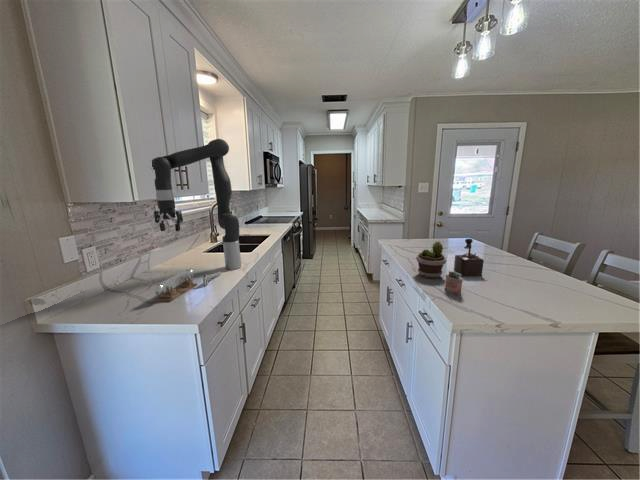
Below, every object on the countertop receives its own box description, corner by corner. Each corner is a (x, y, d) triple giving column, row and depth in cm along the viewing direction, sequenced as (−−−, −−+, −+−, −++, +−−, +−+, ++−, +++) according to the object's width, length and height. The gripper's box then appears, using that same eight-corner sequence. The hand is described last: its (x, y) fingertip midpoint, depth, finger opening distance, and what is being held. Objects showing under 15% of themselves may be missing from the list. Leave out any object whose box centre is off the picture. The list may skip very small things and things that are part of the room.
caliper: (205, 287, 129) (204, 275, 128) (203, 287, 129) (202, 275, 128) (222, 273, 149) (221, 263, 147) (220, 273, 149) (219, 263, 147)
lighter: (442, 289, 119) (444, 269, 117) (447, 288, 121) (449, 268, 119) (457, 296, 112) (459, 275, 110) (462, 295, 114) (465, 274, 111)
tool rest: (183, 284, 132) (181, 273, 131) (197, 285, 131) (195, 274, 130) (154, 300, 114) (152, 288, 113) (169, 301, 113) (167, 289, 112)
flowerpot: (422, 281, 130) (425, 243, 126) (411, 271, 145) (413, 237, 141) (450, 280, 131) (453, 242, 126) (436, 270, 146) (438, 236, 141)
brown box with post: (483, 276, 135) (488, 243, 131) (462, 276, 135) (466, 244, 131) (467, 267, 150) (470, 237, 146) (448, 267, 150) (451, 237, 146)
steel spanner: (189, 276, 133) (188, 268, 132) (194, 276, 133) (193, 269, 132) (154, 294, 111) (152, 286, 110) (160, 295, 110) (159, 286, 109)
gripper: (183, 198, 128) (187, 229, 132) (159, 198, 131) (163, 229, 134) (172, 199, 121) (177, 232, 125) (147, 199, 124) (152, 232, 127)
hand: (170, 231), depth 130 cm, fingers open, 8 cm apart
